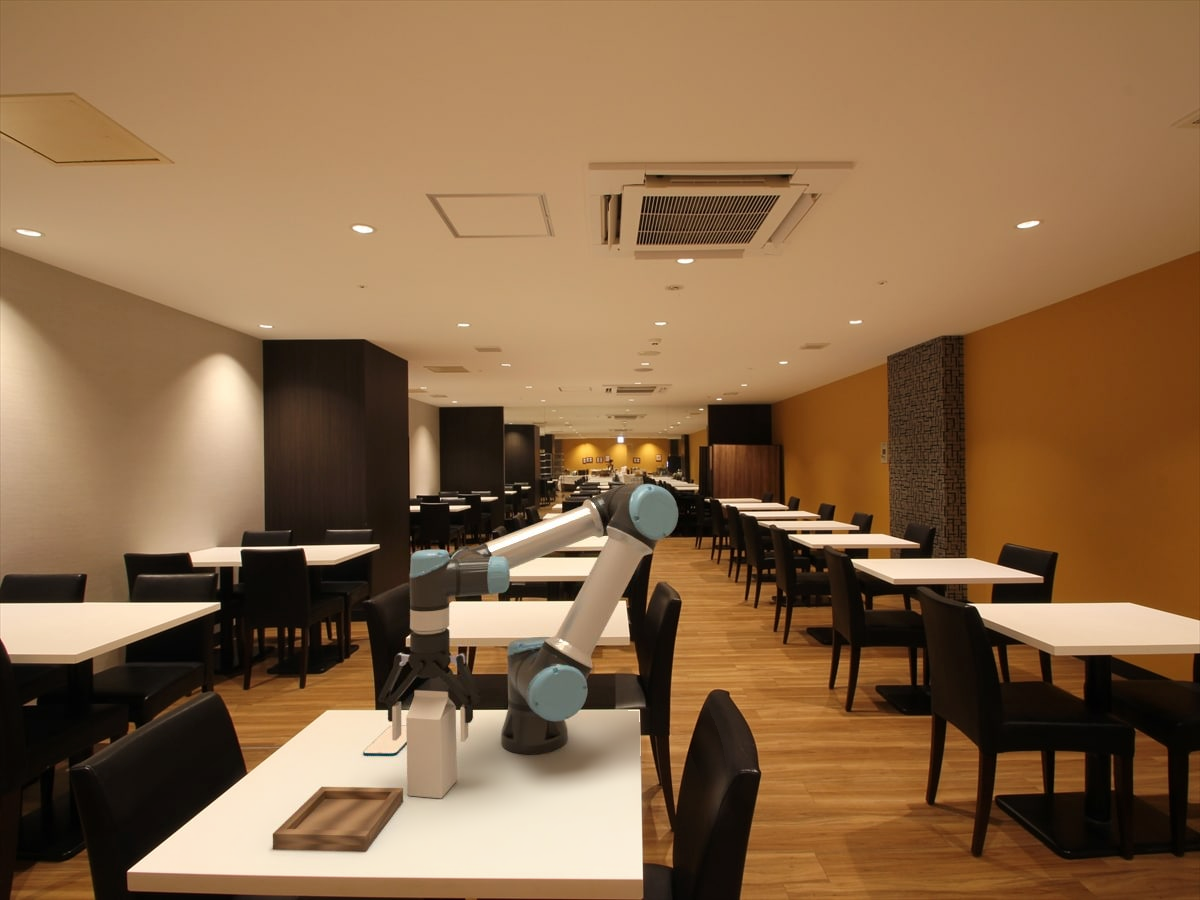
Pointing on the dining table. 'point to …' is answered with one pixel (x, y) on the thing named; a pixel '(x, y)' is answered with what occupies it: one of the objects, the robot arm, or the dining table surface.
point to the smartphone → (387, 744)
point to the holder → (339, 819)
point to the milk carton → (431, 744)
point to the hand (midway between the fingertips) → (430, 738)
